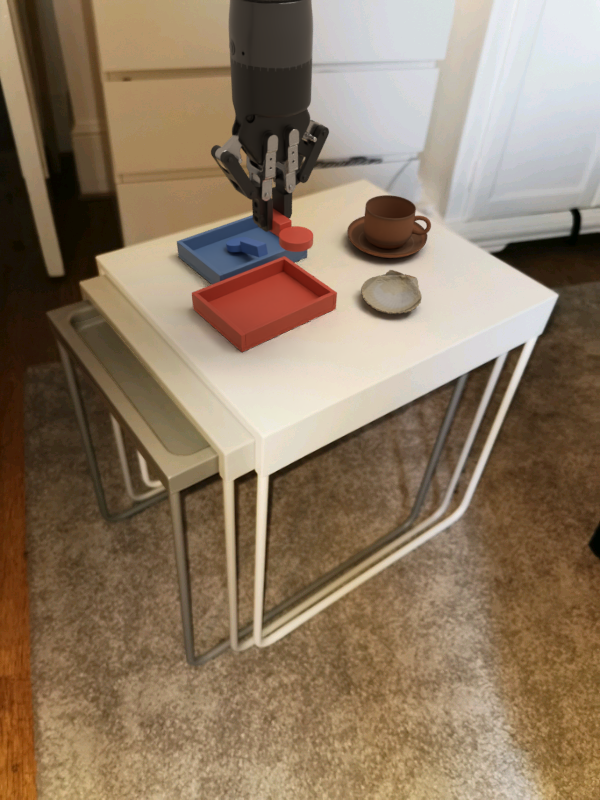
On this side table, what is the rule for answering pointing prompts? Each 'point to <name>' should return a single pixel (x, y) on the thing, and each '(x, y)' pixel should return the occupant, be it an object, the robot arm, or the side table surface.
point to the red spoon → (291, 234)
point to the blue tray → (219, 263)
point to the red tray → (263, 302)
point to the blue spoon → (247, 246)
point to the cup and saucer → (389, 228)
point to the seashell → (392, 292)
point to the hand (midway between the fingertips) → (272, 224)
